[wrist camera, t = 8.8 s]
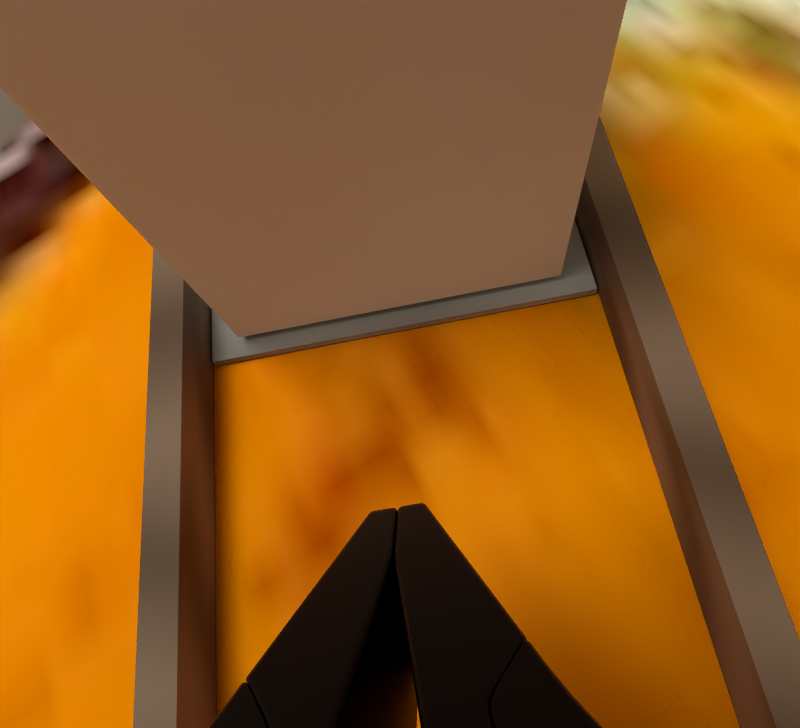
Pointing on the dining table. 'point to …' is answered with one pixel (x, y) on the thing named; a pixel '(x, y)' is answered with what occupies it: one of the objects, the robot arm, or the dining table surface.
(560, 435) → the dining table surface
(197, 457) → the walnut bay
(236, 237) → the cream crate
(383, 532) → the robot arm
